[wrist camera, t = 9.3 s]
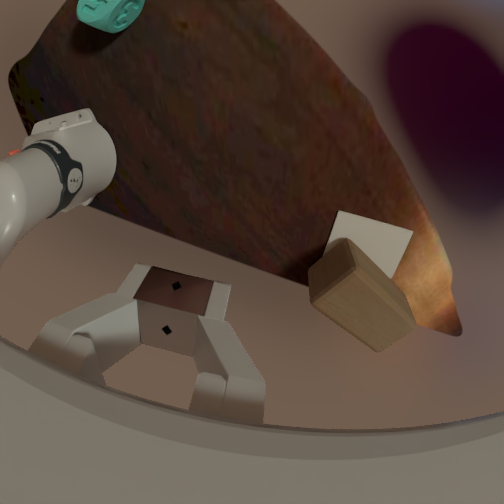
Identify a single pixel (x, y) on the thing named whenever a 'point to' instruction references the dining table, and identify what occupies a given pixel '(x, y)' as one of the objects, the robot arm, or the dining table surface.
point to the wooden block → (359, 296)
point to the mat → (371, 239)
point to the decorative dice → (109, 13)
